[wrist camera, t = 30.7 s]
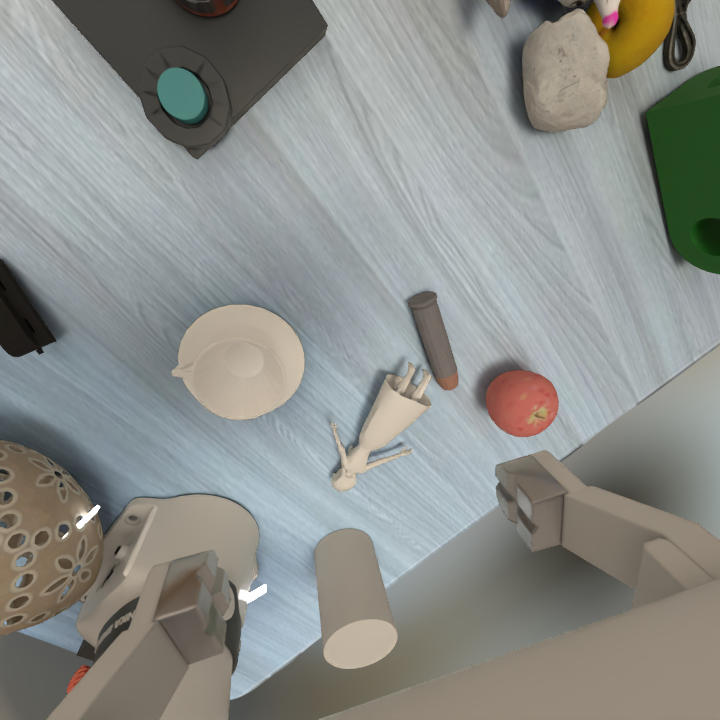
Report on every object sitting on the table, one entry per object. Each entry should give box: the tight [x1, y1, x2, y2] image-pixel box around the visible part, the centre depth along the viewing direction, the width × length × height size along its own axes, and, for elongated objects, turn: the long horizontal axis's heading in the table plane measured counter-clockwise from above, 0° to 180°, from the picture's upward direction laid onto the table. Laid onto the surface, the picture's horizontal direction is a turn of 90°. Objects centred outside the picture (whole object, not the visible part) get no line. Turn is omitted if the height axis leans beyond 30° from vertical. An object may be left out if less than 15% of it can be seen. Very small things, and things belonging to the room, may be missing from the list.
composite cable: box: [664, 0, 696, 71], centre depth 32 cm, size 10×5×2 cm, turn 9°
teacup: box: [172, 305, 305, 420], centre depth 36 cm, size 12×12×5 cm
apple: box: [486, 370, 559, 437], centre depth 42 cm, size 7×7×8 cm
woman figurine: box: [331, 362, 432, 491], centre depth 42 cm, size 12×4×18 cm
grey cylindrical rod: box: [408, 292, 458, 390], centre depth 40 cm, size 11×3×3 cm, turn 22°
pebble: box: [522, 9, 610, 132], centre depth 31 cm, size 9×8×5 cm
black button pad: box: [52, 0, 328, 159], centre depth 26 cm, size 14×12×4 cm
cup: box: [314, 529, 397, 669], centre depth 46 cm, size 8×8×12 cm
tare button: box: [157, 67, 208, 124], centre depth 26 cm, size 3×3×2 cm
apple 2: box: [586, 0, 675, 78], centre depth 30 cm, size 6×6×8 cm
